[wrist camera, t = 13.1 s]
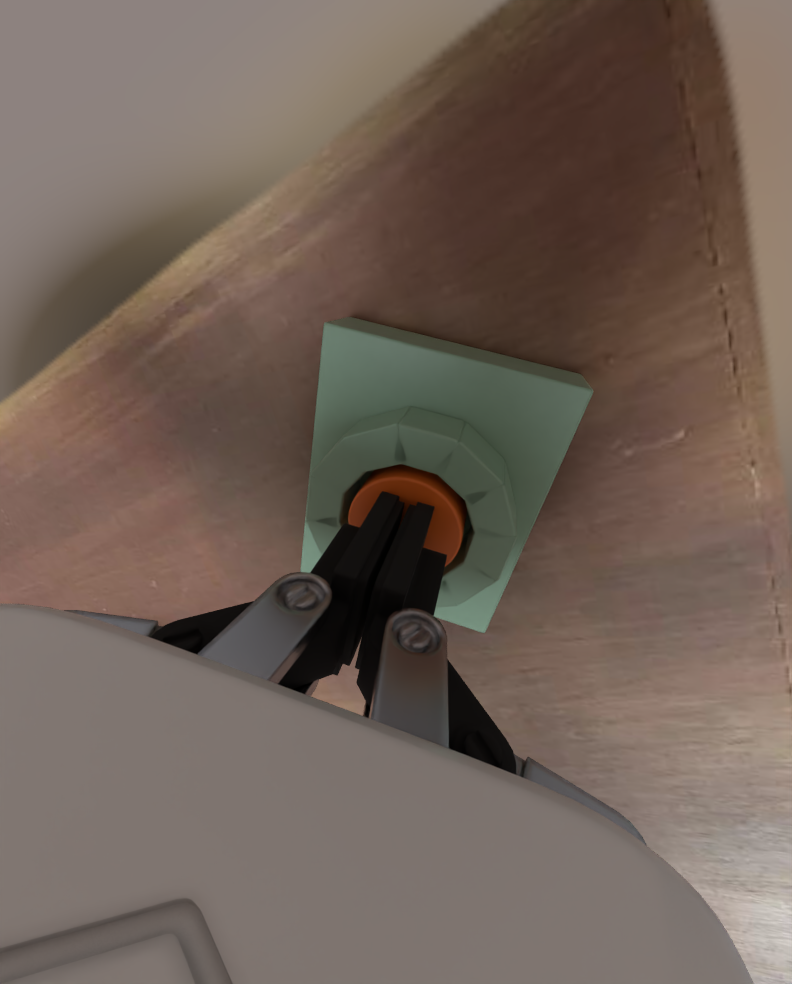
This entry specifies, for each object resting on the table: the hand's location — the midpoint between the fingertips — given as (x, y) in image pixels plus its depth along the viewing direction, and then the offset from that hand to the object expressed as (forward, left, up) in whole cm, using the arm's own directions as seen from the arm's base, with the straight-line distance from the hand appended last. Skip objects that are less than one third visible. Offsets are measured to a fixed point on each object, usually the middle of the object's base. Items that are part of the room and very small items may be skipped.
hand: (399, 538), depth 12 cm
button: (0, 0, -2) cm, 2 cm away
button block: (0, 0, -4) cm, 4 cm away
